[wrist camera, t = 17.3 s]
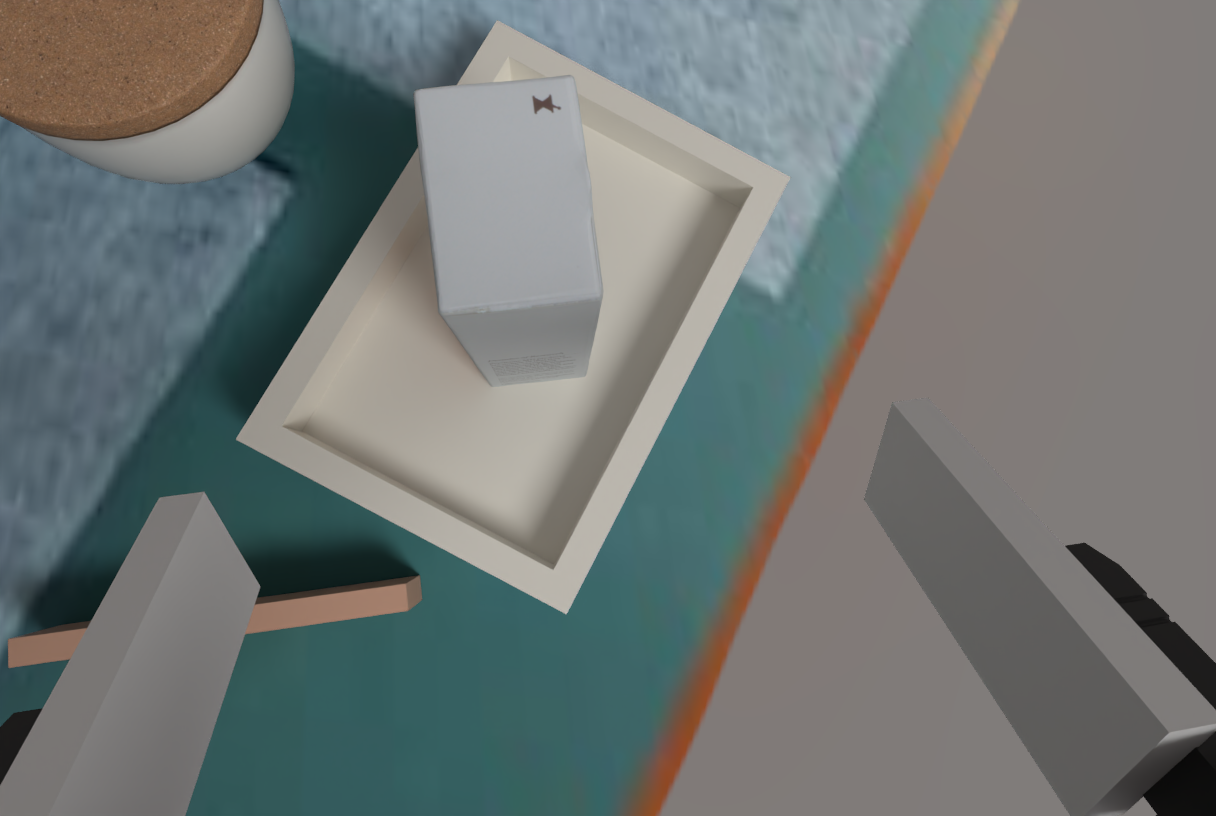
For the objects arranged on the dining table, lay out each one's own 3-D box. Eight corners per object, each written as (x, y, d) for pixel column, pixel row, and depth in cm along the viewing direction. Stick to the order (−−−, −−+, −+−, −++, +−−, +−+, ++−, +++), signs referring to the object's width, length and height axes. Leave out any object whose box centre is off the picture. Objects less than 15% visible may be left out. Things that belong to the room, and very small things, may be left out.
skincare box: (472, 255, 28) (408, 79, 16) (570, 245, 28) (579, 65, 16) (488, 393, 27) (433, 316, 15) (588, 381, 27) (612, 297, 16)
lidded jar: (126, -25, 29) (-73, -264, 20) (360, 35, 30) (270, -171, 21) (45, 191, 28) (-212, 40, 19) (292, 251, 28) (163, 133, 19)
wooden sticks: (70, 1012, 24) (15, 1071, 21) (61, 624, 26) (8, 638, 23) (453, 939, 25) (441, 987, 23) (419, 575, 27) (405, 583, 24)
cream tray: (565, 600, 27) (566, 614, 24) (270, 445, 27) (235, 439, 24) (767, 208, 30) (790, 177, 27) (503, 66, 30) (497, 20, 27)
